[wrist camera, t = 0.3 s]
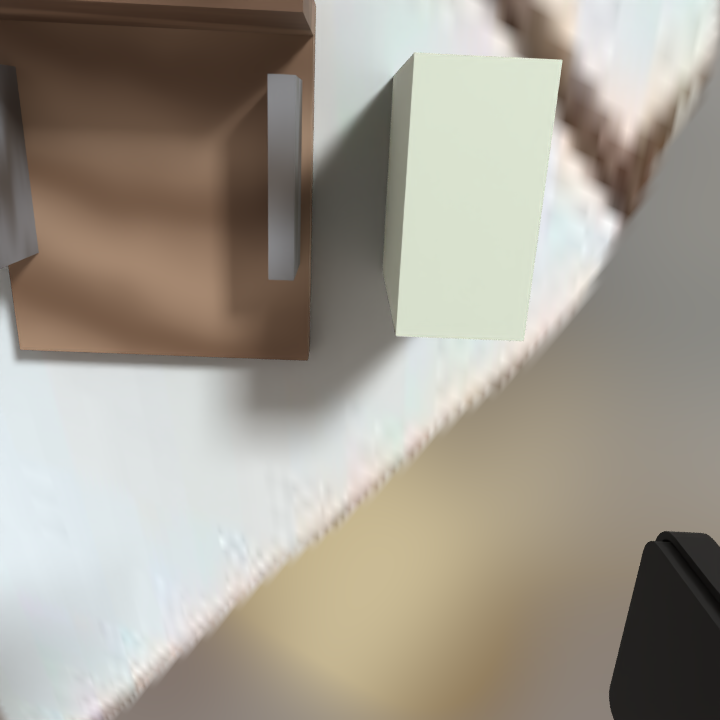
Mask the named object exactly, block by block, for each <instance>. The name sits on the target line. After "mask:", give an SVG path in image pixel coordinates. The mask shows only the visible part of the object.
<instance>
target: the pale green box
mask: <svg viewBox="0 0 720 720" xmlns="http://www.w3.org/2000/svg"><path fill="white" fill-rule="evenodd" d="M561 66H562V60H553V59H533V58H513V57H493V56H473V55H453V54H433V53H414V54H413V55H412V56H411V57H410V58H409V59H408V60H407V62H406V63H405V64H404V65H403V66H402V67H401V68H400V69H399V70H398V72H397V73H396V74H395V75H394V76H393V92H392V109H391V127H390V145H389V162H388V180H387V198H386V215H385V233H384V251H383V268H382V271H383V276H384V280H385V285H386V290H387V295H388V300H389V305H390V310H391V315H392V320H393V325H394V330H395V335H396V336H403V337H428V338H454V339H480V340H506V341H524V335H525V328H526V321H527V314H528V306H529V299H530V292H531V285H532V277H533V270H534V263H535V255H536V248H537V241H538V234H539V226H540V219H541V212H542V205H543V197H544V190H545V183H546V176H547V168H548V161H549V154H550V146H551V139H552V132H553V125H554V117H555V110H556V103H557V96H558V88H559V81H560V74H561Z"/></svg>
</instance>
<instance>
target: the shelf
mask: <svg viewBox="0 0 720 720" xmlns="http://www.w3.org/2000/svg"><path fill="white" fill-rule="evenodd" d="M315 23H316V4H315V1H314V0H0V269H1V268H3V267H6V266H8V267H9V274H10V281H11V288H12V295H13V302H14V309H15V316H16V323H17V330H18V337H19V344H20V350H42V351H68V352H95V353H121V354H148V355H174V356H201V357H227V358H254V359H280V360H306V361H308V356H309V346H310V292H311V238H312V184H313V131H314V77H315Z"/></svg>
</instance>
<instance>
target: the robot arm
mask: <svg viewBox="0 0 720 720" xmlns="http://www.w3.org/2000/svg"><path fill="white" fill-rule="evenodd" d="M609 701H610V708H611V712H612V715H613V718H614V720H720V547H719V546H718V544H717V543H716V542H715V541H714V540H713V539H712V538H711V537H710V536H709V535H707V534H704V533H690V532H689V533H688V532H669V531H664V532H662V533H660V534H659V535H658V537H657V539H656V541H650V542H648V543H647V544H646V545H645V548H644V550H643V554H642V558H641V562H640V566H639V571H638V575H637V578H636V583H635V587H634V591H633V595H632V599H631V603H630V607H629V611H628V615H627V620H626V623H625V627H624V632H623V636H622V640H621V644H620V648H619V652H618V656H617V660H616V664H615V668H614V673H613V677H612V681H611V685H610V690H609Z"/></svg>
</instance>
